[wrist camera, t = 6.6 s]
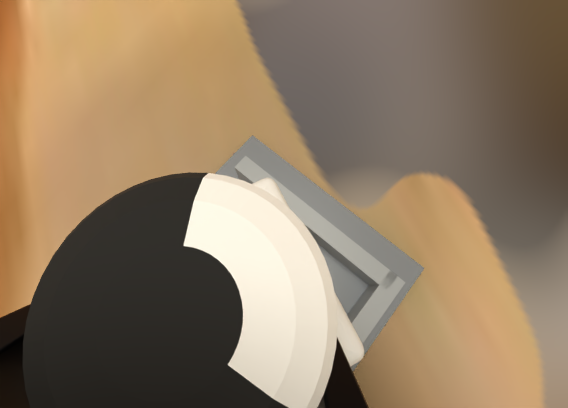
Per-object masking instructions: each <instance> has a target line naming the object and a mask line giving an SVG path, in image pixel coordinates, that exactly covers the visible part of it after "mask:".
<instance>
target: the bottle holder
mask: <svg viewBox="0 0 568 408" xmlns="http://www.w3.org/2000/svg"><path fill="white" fill-rule="evenodd" d="M215 174H218V175H225V176H229V177H233V178H236V179H239V180H243V181H246V182H248V183H250V184H253V183H255V182H257V181H259V180H261V179H264V178H271V179H273V180H274V181H275V182H276V184H277V186H278V187H279V189H280V191H281V193H282V195H283V197H284V199H285V200H286V202H287V204H288V206H289V208H290V209H291V210H292V211H293V212H294V214H295V215H296V216H297V217H298V218H299V219H300V220H301V221H302V222H303V223H304V225H305V226H306V227H307V229H308V230H309V232H310V233H311V235H312V236H313V238H314V239H315V241H316V242H317V244H318V246H319V248H320V250H321V252H322V254H323V256H324V258H325V261H326V264H327V267H328V269H329V272H330V275H331V278H332V282H333V287H334V292H335V294H336V296H337V297H338V299H339V301H340V303H341V305H342V307H343V309H344V310H345V312H346V314H347V316H348V318H349V320H350V322H351V324H352V325H353V327H354V329H355V331H356V333H357V335H358V337H359V338H360V340H361V342H362V344H363V347H364V355H365V353H366V352H367V351H368V349H369V348H370V346H371V345H372V343H373V342H374V340H375V339H376V337H377V336H378V335H379V333H380V332H381V330H382V329H383V327H384V326H385V324H386V323H387V322H388V320H389V319H390V317H391V316H392V314H393V313H394V311H395V310H396V308H397V307H398V306H399V304H400V303H401V301H402V300H403V298H404V297H405V295H406V294H407V293H408V291H409V290H410V288H411V287H412V285H413V284H414V282H415V281H416V280H417V278H418V277H419V275H420V274H421V272H422V271H423V269H424V268H423V267H422V266H421V265H420V264H418V263H417V262H416V261H414V260H413V259H412V258H410V257H409V256H408V255H407V254H405V253H404V252H403V251H401V250H400V249H399V248H398V247H396V246H395V245H394V244H392V243H391V242H390V241H388V240H387V239H386V238H385V237H383V236H382V235H381V234H379V233H378V232H377V231H376V230H374V229H373V228H372V227H370V226H369V225H368V224H366V223H365V222H364V221H363V220H361V219H360V218H359V217H357V216H356V215H355V214H354V213H352V212H351V211H350V210H348V209H347V208H346V207H344V206H343V205H342V204H341V203H339V202H338V201H337V200H335V199H334V198H333V197H332V196H330V195H329V194H328V193H326V192H325V191H324V190H323V189H321V188H320V187H319V186H317V185H316V184H315V183H313V182H312V181H311V180H310V179H308V178H307V177H306V176H304V175H303V174H302V173H301V172H299V171H298V170H297V169H295V168H294V167H293V166H291V165H290V164H289V163H288V162H286V161H285V160H284V159H282V158H281V157H280V156H279V155H277V154H276V153H275V152H273V151H272V150H271V149H269V148H268V147H267V146H266V145H264V144H263V143H262V142H260V141H259V140H258V139H257V138H255V137H254V136H253V135H252V136H251V137H250V138H249V139H248V140H247V141H246V142H245V144H244V145H243V146H242V147H241V148H240V149H239V150H238V151H237V152H236V153H235V154H234V155H233V156H232V157H231V158H230V159H229V160H228V161H227V162H226V163H225V164H224V165H223V166H222V167H221V168H220V169H219V170H218V171H217V172H216V173H215ZM360 361H361V360H360ZM360 361H359V362H360ZM359 362H357V363H356V364H354V365H352V366H351V369H352V371H354V369H355V368H356V366H357V365H358V364H359Z"/></svg>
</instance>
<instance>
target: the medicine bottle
mask: <svg viewBox="0 0 568 408" xmlns="http://www.w3.org/2000/svg"><path fill="white" fill-rule="evenodd" d="M337 337H338V340H339V342H340V344H341V346H342V349H343V351H344V353H345V355H346V358H347V360H348V362H349V364H350V367H351V366H352V365H354V364H356V363H357V362H359V361H360V360H361V359H362V358H363V356H364V347H363V344H362V342H361V340H360V338H359V337H358V335H357V333H356V331H355V329H354V327H353V325H352V324H351V322H350V320H349V318H348V316H347V314H346V312H345V310H344V309H343V307H342V305H341V303H340V301H339V299H338V297H337V296H336V294H335V292H334V287H333V282H332V278H331V275H330V272H329V269H328V267H327V264H326V261H325V258H324V256H323V254H322V252H321V250H320V248H319V246H318V244H317V242H316V241H315V239H314V238H313V236H312V235H311V233H310V232H309V230H308V229H307V227H306V226H305V225H304V223H303V222H302V221H301V220H300V219H299V218H298V217H297V216H296V215H295V214H294V212H293V211H292V210H291V209H290V208H289V206H288V204H287V202H286V200H285V199H284V197H283V195H282V193H281V191H280V189H279V187H278V186H277V184H276V182H275V181H274V180H273V179H271V178H264V179H261V180H259V181H257V182H255V183H253V184H250V183H248V182H246V181H243V180H239V179H236V178H233V177H229V176H225V175H218V174H212V173H182V174H172V175H167V176H163V177H159V178H155V179H151V180H148V181H146V182H143V183H140V184H137V185H135V186H132V187H130V188H129V189H127V190H125V191H123V192H121V193H119V194H117V195H115V196H114V197H112V198H111V199H109V200H108V201H106V202H105V203H103V204H102V205H100V206H99V207H97V208H96V209H95V210H94V211H93V212H92V213H90V214H89V215H88V216H87V217H86V218H84V219H83V220H82V221H81V222H80V223H79V224H78V225H77V227H76V228H75V229H74V230H73V231H72V232H71V233H70V234H69V235H68V236H67V238H66V239H65V240H64V242H63V243H62V244H61V246H60V247H59V248H58V250H57V251H56V252H55V254H54V255H53V257H52V259H51V261H50V262H49V264H48V266H47V268H46V269H45V271H44V273H43V275H42V277H41V279H40V282H39V284H38V286H37V289H36V291H35V294H34V296H33V299H32V302H31V306H30V309H29V313H28V316H27V320H26V326H25V333H24V339H23V374H24V382H25V390H26V394H27V397H28V401H29V405H30V408H317V407H318V405H319V403H320V401H321V399H322V397H323V395H324V392H325V389H326V386H327V383H328V380H329V377H330V374H331V371H332V366H333V361H334V356H335V351H336V342H337Z"/></svg>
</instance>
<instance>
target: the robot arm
mask: <svg viewBox="0 0 568 408" xmlns="http://www.w3.org/2000/svg"><path fill="white" fill-rule="evenodd" d="M30 306H31V304H30V305H27V306H25V307H23V308H21V309H19V310H16V311H14V312H12V313H10V314H8V315H5V316H3V317H1V318H0V408H30V405H29V401H28V397H27V394H26V390H25V382H24V374H23V339H24V333H25V326H26V320H27V316H28V313H29V309H30ZM317 408H369V407H368V405H367V403H366V400H365V398H364V396H363V394H362V391H361V389H360V387H359V385H358V382H357V380H356V378H355V376H354V373H353V371H352V369H351V367H350V364H349V362H348V360H347V358H346V355H345V353H344V351H343V349H342V346H341V344H340V342H339V340H338V337H337V342H336V351H335V356H334V361H333V366H332V371H331V374H330V377H329V380H328V383H327V386H326V389H325V392H324V395H323V397H322V399H321V401H320V403H319V405H318V407H317Z"/></svg>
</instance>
